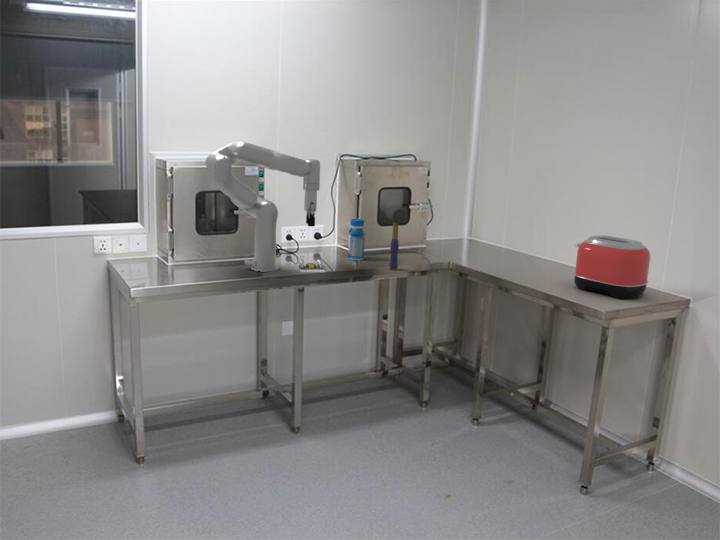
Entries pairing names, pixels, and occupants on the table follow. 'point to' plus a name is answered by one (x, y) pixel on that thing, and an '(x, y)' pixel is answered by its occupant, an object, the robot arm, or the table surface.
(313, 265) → the brass nut
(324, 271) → the spacer board
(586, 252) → the toaster
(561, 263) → the table surface
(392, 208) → the rubber mallet
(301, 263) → the spacer rows
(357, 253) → the beverage bottle
